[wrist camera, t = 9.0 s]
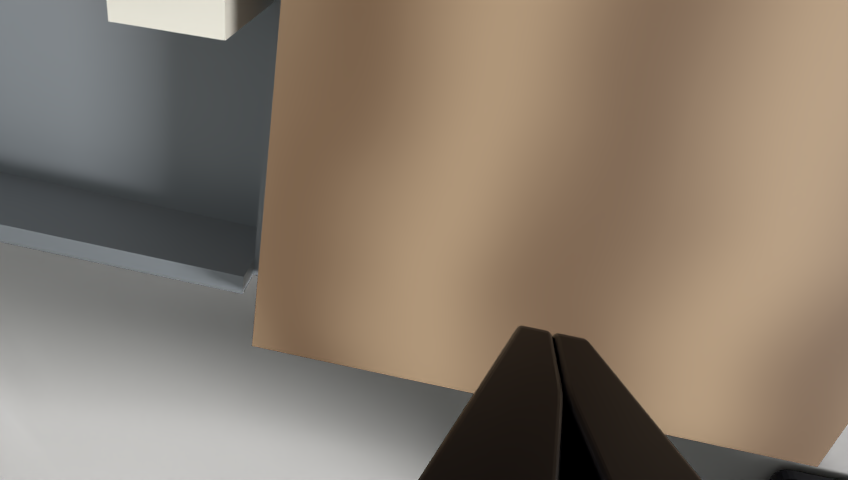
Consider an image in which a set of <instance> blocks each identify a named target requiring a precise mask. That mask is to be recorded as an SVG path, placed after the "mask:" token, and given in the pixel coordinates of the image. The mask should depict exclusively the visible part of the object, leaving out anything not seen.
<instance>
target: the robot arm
mask: <svg viewBox="0 0 848 480" xmlns="http://www.w3.org/2000/svg"><path fill="white" fill-rule="evenodd" d="M418 480H701V478H700V477H699V476H698V475H697V473H696V472H695V471H694V470H693V468H692V467H691V466H690V465H689V464H688V462H687V461H686V460H685V459H684V457H683V456H682V455H681V454H680V453H679V451H678V450H677V449H676V448H675V446H674V445H673V444H672V443H671V442H670V440H669V439H668V438H667V437H666V435H665V434H664V433H663V432H662V430H661V429H660V428H659V427H658V426H657V424H656V423H655V422H654V421H653V419H652V418H651V417H650V416H649V415H648V413H647V412H646V411H645V410H644V408H643V407H642V406H641V405H640V404H639V402H638V401H637V400H636V399H635V397H634V396H633V395H632V394H631V392H630V391H629V390H628V389H627V388H626V386H625V385H624V384H623V383H622V381H621V380H620V379H619V378H618V377H617V375H616V374H615V373H614V372H613V370H612V369H611V368H610V367H609V366H608V364H607V363H606V362H605V361H604V359H603V358H602V357H601V356H600V354H599V353H598V352H597V351H596V350H595V348H594V347H593V346H592V345H591V343H590V342H589V341H587V340H586V339H584V338H580V337H575V336H570V335H565V334H560V333H556V334H554V335H553V336H552V334H551V333H550V332H549V331H546V330H542V329H537V328H532V327H528V326H522V325H521V326H518V327H517V328H516V329H515V331H514V332H513V334H512V336H511V337H510V339H509V340H508V342H507V343H506V345H505V346H504V348H503V349H502V351H501V353H500V354H499V356H498V357H497V359H496V360H495V362H494V363H493V365H492V366H491V368H490V370H489V371H488V373H487V374H486V376H485V377H484V379H483V380H482V382H481V384H480V385H479V387H478V388H477V390H476V391H475V393H474V394H473V396H472V397H471V399H470V401H469V402H468V404H467V405H466V407H465V408H464V410H463V411H462V413H461V414H460V416H459V418H458V419H457V421H456V422H455V424H454V425H453V427H452V428H451V430H450V431H449V433H448V435H447V436H446V438H445V439H444V441H443V442H442V444H441V445H440V447H439V448H438V450H437V452H436V453H435V455H434V456H433V458H432V459H431V461H430V462H429V464H428V465H427V467H426V469H425V470H424V472H423V473H422V475H421V476H420V478H419V479H418ZM770 480H835V479H831V478H826V477H821V476H817V475H812V474H807V473H803V472H798V471H793V470H783V471H779V472H777V473H775V474H774V475H773V476H772V477H771V479H770Z"/></svg>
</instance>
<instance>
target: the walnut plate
mask: <svg viewBox="0 0 848 480" xmlns="http://www.w3.org/2000/svg"><path fill="white" fill-rule="evenodd" d="M521 325H522V326H528V327H532V328H537V329H542V330H546V331H549V332H550V333H551V334H552V336H553V335H554V334H556V333H560V334H565V335H570V336H575V337H580V338H584V339H586V340H587V341H589V342H590V343H591V345H592V346H593V347H594V348H595V350H596V351H597V352H598V353H599V354H600V356H601V357H602V358H603V359H604V361H605V362H606V363H607V364H608V366H609V367H610V368H611V369H612V370H613V372H614V373H615V374H616V375H617V377H618V378H619V379H620V380H621V381H622V383H623V384H624V385H625V386H626V388H627V389H628V390H629V391H630V392H631V394H632V395H633V396H634V397H635V399H636V400H637V401H638V402H639V404H640V405H641V406H642V407H643V408H644V410H645V411H646V412H647V413H648V415H649V416H650V417H651V418H652V419H653V421H654V422H655V423H656V424H657V426H658V427H659V428H660V429H661V430H662V432H663V433H664V434H666V435H670V436H675V437H680V438H684V439H689V440H694V441H698V442H703V443H708V444H712V445H717V446H722V447H726V448H731V449H736V450H740V451H745V452H750V453H754V454H759V455H764V456H768V457H773V458H778V459H782V460H787V461H792V462H796V463H801V464H806V465H810V466H815V467H818V465H819V464H820V462H821V461H822V460H823V458H824V457H825V455H826V454H827V453H828V451H829V450H830V448H831V447H832V446H833V444H834V443H835V441H836V440H837V438H838V437H839V436H840V434H841V433H842V431H843V430H844V429H845V427H846V426H847V424H848V0H281V7H280V19H279V31H278V43H277V55H276V67H275V79H274V91H273V103H272V114H271V126H270V138H269V150H268V162H267V174H266V186H265V198H264V210H263V222H262V234H261V246H260V258H259V269H258V281H257V293H256V305H255V317H254V329H253V341H252V346H255V347H259V348H264V349H269V350H273V351H278V352H283V353H287V354H292V355H297V356H301V357H306V358H311V359H315V360H320V361H325V362H329V363H334V364H339V365H343V366H348V367H353V368H357V369H362V370H367V371H371V372H376V373H381V374H385V375H390V376H395V377H399V378H404V379H409V380H413V381H418V382H423V383H427V384H432V385H437V386H441V387H446V388H451V389H455V390H460V391H465V392H469V393H475V391H476V390H477V388H478V387H479V385H480V384H481V382H482V380H483V379H484V377H485V376H486V374H487V373H488V371H489V370H490V368H491V366H492V365H493V363H494V362H495V360H496V359H497V357H498V356H499V354H500V353H501V351H502V349H503V348H504V346H505V345H506V343H507V342H508V340H509V339H510V337H511V336H512V334H513V332H514V331H515V329H516V328H517V327H518V326H521Z"/></svg>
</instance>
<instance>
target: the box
mask: <svg viewBox="0 0 848 480" xmlns="http://www.w3.org/2000/svg"><path fill="white" fill-rule="evenodd" d="M280 7H281V0H275V2H273V3H272V4H271V5H270V6H268V7H267V8H266V9H265V10H263V11H262V12H261V13H259V14H258V15H257V16H256V17H254V18H253V19H252V20H251V21H249V22H248V23H247V24H246V25H244V26H243V27H242V28H241V29H239V30H238V31H237V32H236V33H234V34H233V35H232V36H230V37H229V38H228V39H227V40H219V39H213V38H207V37H200V36H194V35H188V34H182V33H176V32H170V31H164V30H158V29H152V28H146V27H140V26H133V25H127V24H121V23H115V22H109V21H108V12H107V1H106V0H0V242H3V243H8V244H12V245H17V246H21V247H26V248H31V249H35V250H40V251H45V252H49V253H54V254H59V255H63V256H68V257H73V258H77V259H82V260H87V261H91V262H96V263H100V264H105V265H110V266H114V267H119V268H124V269H128V270H133V271H138V272H142V273H147V274H152V275H156V276H161V277H166V278H170V279H175V280H179V281H184V282H189V283H193V284H198V285H203V286H207V287H212V288H217V289H221V290H226V291H231V292H235V293H240V294H243V292H244V290H245V288H246V287H247V285H248V283H249V281H250V279H251V278H252V276H253V275H258V269H259V258H260V246H261V234H262V222H263V210H264V198H265V186H266V174H267V162H268V150H269V138H270V126H271V114H272V103H273V91H274V79H275V67H276V55H277V43H278V31H279V19H280Z"/></svg>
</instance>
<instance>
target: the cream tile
mask: <svg viewBox="0 0 848 480" xmlns="http://www.w3.org/2000/svg"><path fill="white" fill-rule="evenodd" d="M106 1H107V12H108V21H109V22H115V23H121V24H127V25H133V26H140V27H146V28H152V29H158V30H164V31H170V32H176V33H182V34H188V35H194V36H200V37H207V38H213V39H219V40H227V39H228V38H229V37H230V36H232V35H233V34H234V33H236V32H237V31H238V30H239V29H241V28H242V27H243V26H244V25H246V24H247V23H248V22H249V21H251V20H252V19H253V18H254V17H256V16H257V15H258V14H259V13H261V12H262V11H263V10H265V9H266V8H267V7H268V6H270V5H271V4H272V3H273V2H275V0H106Z"/></svg>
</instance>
